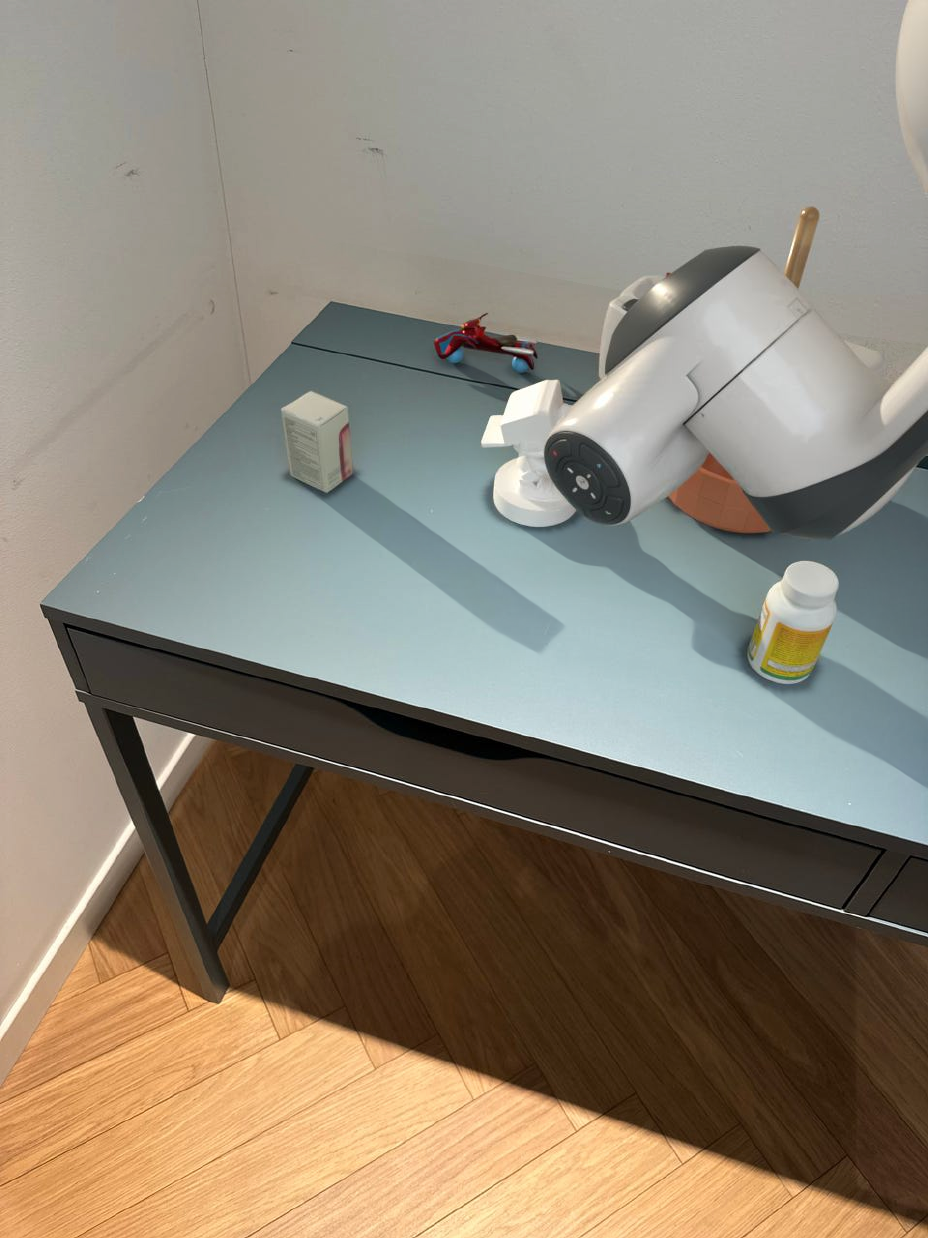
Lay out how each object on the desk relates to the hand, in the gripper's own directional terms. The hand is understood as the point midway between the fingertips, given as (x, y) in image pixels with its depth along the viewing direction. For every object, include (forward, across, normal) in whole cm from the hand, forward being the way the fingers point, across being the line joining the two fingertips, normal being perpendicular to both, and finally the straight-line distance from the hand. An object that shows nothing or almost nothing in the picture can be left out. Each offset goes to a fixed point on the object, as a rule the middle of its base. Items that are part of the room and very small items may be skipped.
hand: (786, 309), depth 77 cm
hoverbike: (+8, +35, +22) cm, 42 cm away
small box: (-19, +35, +22) cm, 46 cm away
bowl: (+6, +2, +22) cm, 23 cm away
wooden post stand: (-1, 0, +10) cm, 10 cm away
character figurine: (-9, +17, +22) cm, 29 cm away
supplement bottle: (-13, -12, +22) cm, 29 cm away
